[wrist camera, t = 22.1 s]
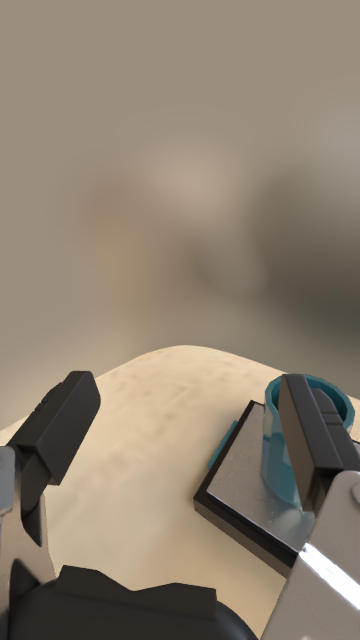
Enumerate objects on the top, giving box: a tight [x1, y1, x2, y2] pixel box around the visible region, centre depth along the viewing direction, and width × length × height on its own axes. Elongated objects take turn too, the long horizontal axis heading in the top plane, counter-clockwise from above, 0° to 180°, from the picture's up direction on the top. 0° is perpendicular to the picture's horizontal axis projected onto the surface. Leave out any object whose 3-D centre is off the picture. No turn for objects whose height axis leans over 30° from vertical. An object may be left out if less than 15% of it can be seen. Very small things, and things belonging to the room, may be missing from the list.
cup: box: [260, 374, 355, 507], centre depth 23 cm, size 7×7×10 cm
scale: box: [193, 400, 360, 579], centre depth 27 cm, size 16×15×3 cm
